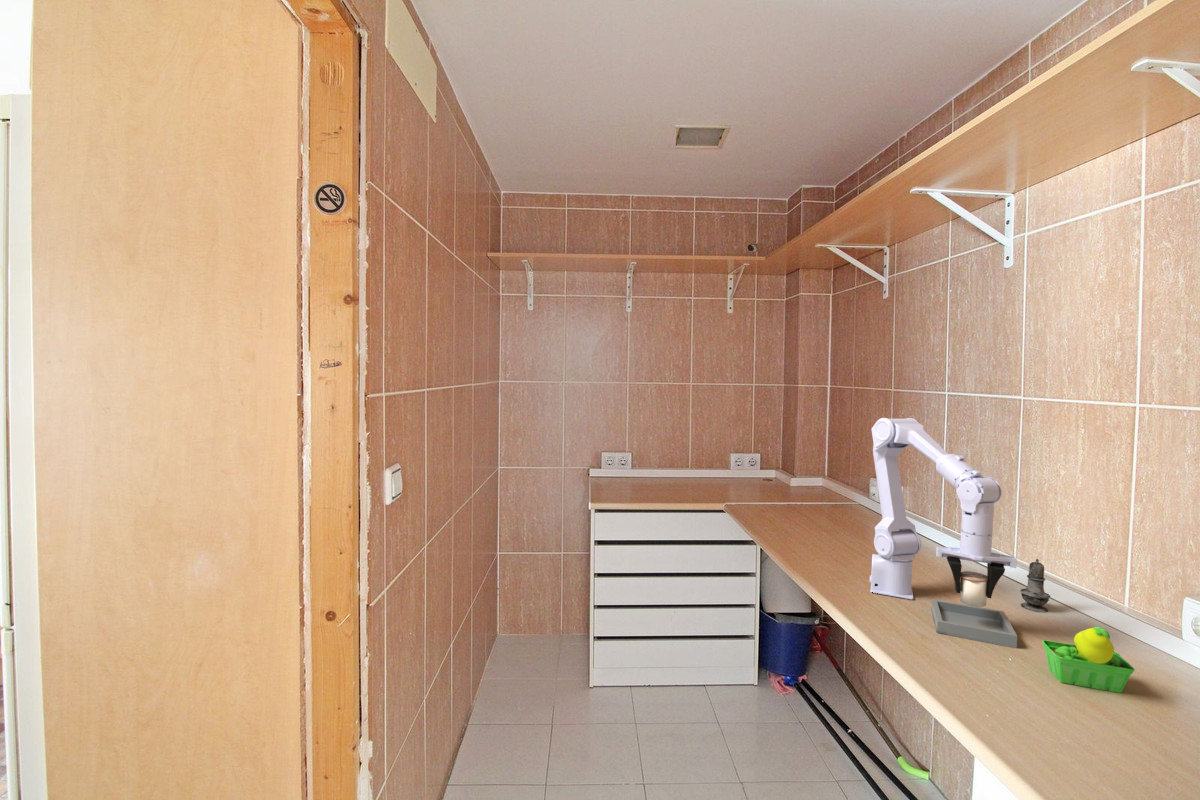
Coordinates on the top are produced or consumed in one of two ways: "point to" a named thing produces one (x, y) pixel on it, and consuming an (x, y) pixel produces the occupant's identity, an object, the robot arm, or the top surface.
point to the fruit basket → (1088, 661)
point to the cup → (973, 588)
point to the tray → (973, 623)
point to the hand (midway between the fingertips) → (972, 594)
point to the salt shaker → (1035, 589)
